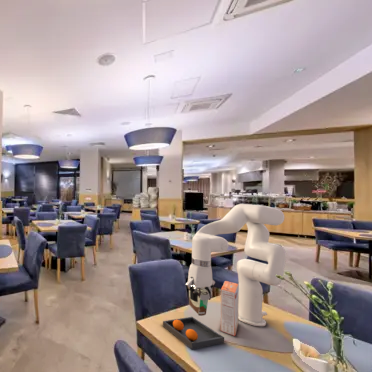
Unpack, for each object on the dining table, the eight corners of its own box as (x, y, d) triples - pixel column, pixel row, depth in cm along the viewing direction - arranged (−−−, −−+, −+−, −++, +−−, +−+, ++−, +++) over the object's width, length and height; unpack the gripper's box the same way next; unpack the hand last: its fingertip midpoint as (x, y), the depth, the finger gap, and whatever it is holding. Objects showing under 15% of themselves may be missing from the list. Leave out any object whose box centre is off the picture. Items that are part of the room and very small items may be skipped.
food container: (215, 318, 104) (216, 297, 103) (200, 317, 104) (201, 295, 104) (200, 304, 116) (201, 284, 115) (187, 303, 117) (188, 283, 116)
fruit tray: (191, 321, 120) (192, 316, 120) (224, 343, 104) (224, 337, 104) (162, 326, 115) (162, 321, 115) (191, 349, 99) (191, 343, 99)
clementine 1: (178, 326, 115) (178, 317, 115) (186, 332, 110) (186, 322, 110) (170, 327, 113) (170, 318, 113) (178, 333, 109) (178, 323, 109)
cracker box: (223, 319, 122) (224, 280, 122) (238, 324, 118) (239, 283, 118) (219, 330, 112) (220, 288, 112) (235, 336, 108) (236, 292, 108)
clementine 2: (191, 335, 107) (191, 326, 107) (200, 342, 103) (200, 332, 103) (183, 337, 106) (183, 327, 106) (191, 344, 102) (192, 333, 102)
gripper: (208, 258, 116) (207, 293, 116) (179, 261, 111) (178, 297, 112) (223, 263, 108) (222, 301, 109) (193, 266, 104) (192, 305, 104)
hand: (200, 299), depth 110 cm, fingers closed on food container, 7 cm apart
